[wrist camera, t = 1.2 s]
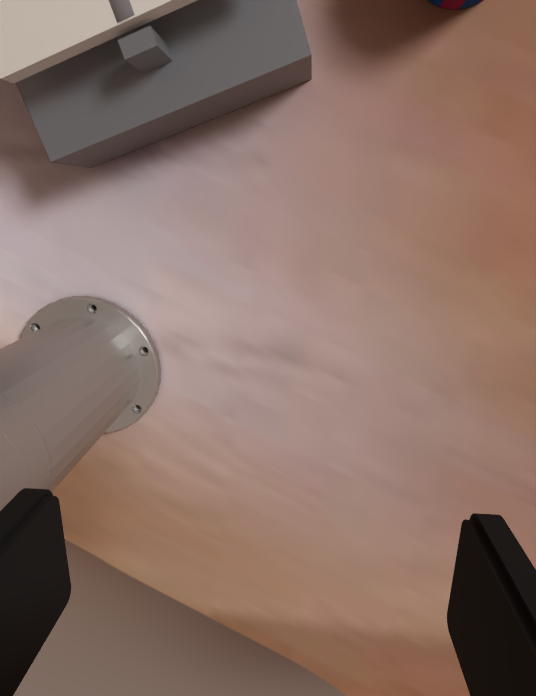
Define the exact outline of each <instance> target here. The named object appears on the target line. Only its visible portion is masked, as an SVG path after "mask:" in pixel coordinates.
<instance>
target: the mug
mask: <svg viewBox="0 0 536 696" xmlns="http://www.w3.org/2000/svg"><path fill="white" fill-rule="evenodd" d="M429 1H430V2H431V3H433V4H435V5H437V6H439V7H442V8H446V9H463V8H468V7H470V6H473V5H476V4H478V3H479V2H481V1H483V0H429Z"/></svg>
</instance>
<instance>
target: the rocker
mask: <svg viewBox="0 0 536 696" xmlns="http://www.w3.org/2000/svg"><path fill="white" fill-rule="evenodd" d="M195 1H197V0H0V79H2V80H5V81H7V82H10V83H13V84H14V83H16V82H18V81H21V80H23V79H25V78H27V77H29V76H32V75H34V74H36V73H38V72H40V71H43V70H45V69H47V68H49V67H51V66H54V65H56V64H58V63H60V62H62V61H65V60H67V59H69V58H71V57H73V56H76V55H78V54H80V53H82V52H85V51H87V50H89V49H91V48H93V47H96V46H98V45H100V44H102V43H104V42H107V41H109V40H111V39H113V38H115V37H118V36H120V35H122V34H124V33H126V32H129V31H131V30H133V29H135V28H138V27H140V26H142V25H144V24H146V23H149V22H151V21H153V20H155V19H157V18H160V17H162V16H164V15H166V14H168V13H171V12H173V11H175V10H177V9H179V8H182V7H184V6H186V5H188V4H190V3H193V2H195Z"/></svg>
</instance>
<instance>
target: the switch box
mask: <svg viewBox="0 0 536 696" xmlns="http://www.w3.org/2000/svg"><path fill="white" fill-rule="evenodd" d="M311 79H312V75H311V52H310V48H309V45H308V41H307V37H306V34H305V30H304V27H303V23H302V19H301V16H300V12H299V8H298V5H297V1H296V0H197V1H195V2H193V3H190V4H188V5H186V6H184V7H182V8H179V9H177V10H175V11H173V12H171V13H168V14H166V15H164V16H162V17H160V18H157V19H155V20H153V21H151V22H149V23H146V24H144V25H142V26H140V27H138V28H135V29H133V30H131V31H129V32H126V33H124V34H122V35H120V36H118V37H115V38H113V39H111V40H109V41H107V42H104V43H102V44H100V45H98V46H96V47H93V48H91V49H89V50H87V51H85V52H82V53H80V54H78V55H76V56H73V57H71V58H69V59H67V60H65V61H62V62H60V63H58V64H56V65H54V66H51V67H49V68H47V69H45V70H43V71H40V72H38V73H36V74H34V75H32V76H29V77H27V78H25V79H23V80H21V81H18V82H16V84H17V86H18V89H19V91H20V93H21V95H22V98H23V100H24V102H25V105H26V107H27V109H28V111H29V114H30V116H31V118H32V121H33V123H34V125H35V127H36V130H37V132H38V134H39V137H40V139H41V141H42V144H43V146H44V148H45V150H46V153H47V155H48V157H49V160H50V162H55V163H62V164H69V165H76V166H84V167H94V166H96V165H99V164H101V163H104V162H106V161H109V160H111V159H114V158H116V157H119V156H121V155H124V154H126V153H129V152H131V151H134V150H136V149H139V148H141V147H144V146H146V145H149V144H151V143H154V142H156V141H159V140H161V139H164V138H166V137H169V136H171V135H174V134H176V133H179V132H181V131H184V130H186V129H189V128H191V127H194V126H196V125H199V124H201V123H204V122H206V121H209V120H211V119H214V118H216V117H219V116H221V115H224V114H226V113H229V112H231V111H234V110H236V109H239V108H241V107H244V106H246V105H249V104H251V103H254V102H256V101H259V100H261V99H264V98H266V97H269V96H271V95H273V94H276V93H278V92H281V91H283V90H286V89H288V88H291V87H293V86H296V85H298V84H301V83H303V82H306V81H308V80H311Z"/></svg>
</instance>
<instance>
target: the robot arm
mask: <svg viewBox="0 0 536 696" xmlns="http://www.w3.org/2000/svg"><path fill="white" fill-rule="evenodd" d="M94 305H95V306H96V308H97V309H95V308H94ZM144 347H146V348H147V349H148V351H146V350H145V348H144ZM160 381H161V366H160V360H159V355H158V352H157V349H156V347H155V344H154V342H153V340H152V338H151V337H150V335H149V333H148V332H147V330H146V329H145V328H144V327H143V325H142V324H141V323H140V322H139V321H138V320H137V319H136V318H135V317H134V316H133V315H131V314H130V313H129V312H128V311H127V310H125V309H123V308H122V307H120V306H118V305H116V304H115V303H112V302H109V301H107V300H104V299H101V298H96V297H90V296H72V297H68V298H64V299H60V300H58V301H55V302H53V303H50V304H48V305H47V306H45V307H44V308H42V309H40V310H39V311H38V312H37V313H36V314H35V315H34V316H33V317H32V318H31V319H30V320H29V322H28V323H27V325H26V326H25V328H24V330H23V332H22V335H21V338H20V340H18V341H16V342H14V343H12V344H9V345H7V346H5V347H3V348H1V349H0V696H13V695H14V693H15V691H16V690H17V688H18V686H19V684H20V683H21V681H22V679H23V678H24V676H25V674H26V673H27V671H28V669H29V667H30V666H31V664H32V663H33V661H34V659H35V657H36V656H37V654H38V652H39V651H40V649H41V647H42V646H43V644H44V642H45V641H46V639H47V637H48V635H49V634H50V632H51V630H52V629H53V627H54V625H55V623H56V622H57V620H58V618H59V617H60V615H61V613H62V612H63V610H64V608H65V607H66V605H67V603H68V600H69V597H70V593H71V583H70V576H69V568H68V561H67V554H66V547H65V540H64V533H63V526H62V519H61V512H60V505H59V500H58V498H57V497H56V496H53V494H52V491H53V490H54V489H55V488H56V487H57V485H58V484H59V483H60V482H61V481H62V480H63V479H64V478H65V476H66V475H67V474H68V473H69V472H70V471H71V470H72V469H73V467H74V466H75V465H76V464H77V463H78V462H79V461H80V459H81V458H82V457H83V456H84V455H85V454H86V453H87V452H88V450H89V449H90V448H91V447H92V446H93V445H94V444H95V443H96V441H97V440H98V439H99V438H100V437H101V436H102V435H103V434H105V433H111V432H116V431H119V430H122V429H124V428H127V427H129V426H130V425H132V424H133V423H135V422H136V421H138V420H139V419H140V418H141V417H142V416H143V415H144V414H145V413H146V412H147V410H148V409H149V408H150V406H151V405H152V403H153V401H154V399H155V397H156V395H157V393H158V389H159V385H160ZM138 405H139V406H140V407H139V406H138ZM447 623H448V629H449V633H450V636H451V639H452V642H453V645H454V648H455V651H456V654H457V657H458V660H459V663H460V666H461V669H462V672H463V675H464V678H465V681H466V684H467V687H468V690H469V693H470V696H536V570H535V568H534V566H533V565H532V563H531V562H530V560H529V559H528V557H527V555H526V554H525V552H524V551H523V549H522V547H521V546H520V544H519V543H518V541H517V539H516V538H515V536H514V535H513V533H512V531H511V530H510V528H509V527H508V525H507V523H506V522H505V520H504V519H503V518H502V516H500V515H492V514H475V513H474V514H472V515H471V517H470V520H463V522H462V526H461V532H460V538H459V544H458V550H457V556H456V562H455V569H454V575H453V581H452V587H451V593H450V599H449V605H448V612H447Z"/></svg>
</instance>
